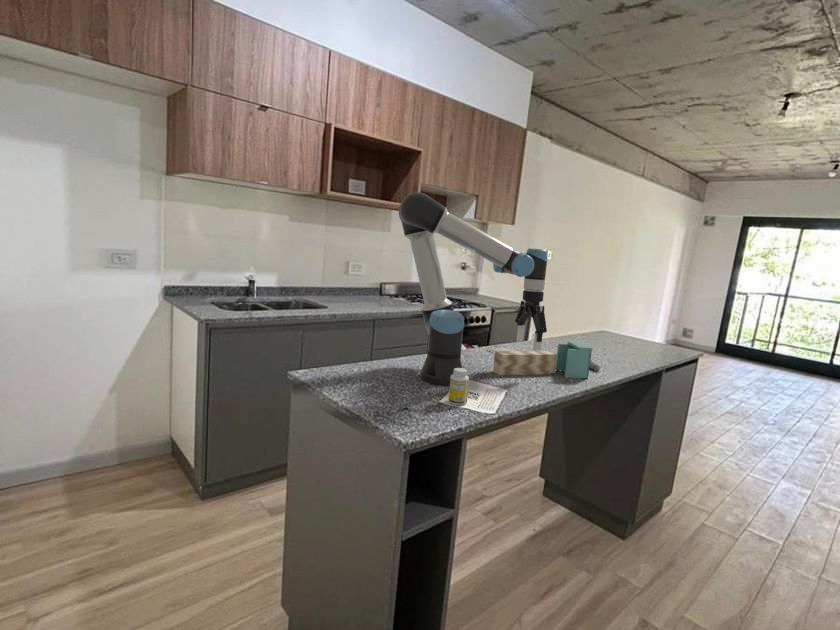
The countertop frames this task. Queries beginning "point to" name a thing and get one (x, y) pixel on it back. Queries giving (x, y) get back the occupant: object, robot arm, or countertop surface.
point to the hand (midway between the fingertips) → (528, 345)
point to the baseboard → (499, 349)
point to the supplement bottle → (458, 387)
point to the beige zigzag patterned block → (524, 362)
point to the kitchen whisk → (594, 366)
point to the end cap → (573, 359)
